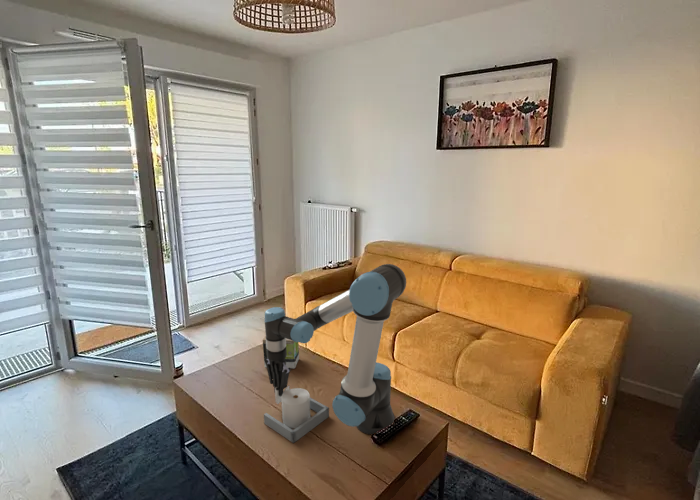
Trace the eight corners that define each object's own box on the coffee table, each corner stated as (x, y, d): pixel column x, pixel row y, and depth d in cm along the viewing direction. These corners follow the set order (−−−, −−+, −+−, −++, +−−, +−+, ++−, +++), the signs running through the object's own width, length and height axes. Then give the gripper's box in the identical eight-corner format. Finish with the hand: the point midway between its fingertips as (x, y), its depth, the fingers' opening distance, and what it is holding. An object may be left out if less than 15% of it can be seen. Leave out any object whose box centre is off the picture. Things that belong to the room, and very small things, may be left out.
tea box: (299, 358, 193) (298, 331, 189) (294, 369, 183) (293, 340, 180) (270, 357, 194) (268, 330, 191) (263, 368, 185) (262, 339, 181)
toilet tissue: (299, 432, 141) (298, 408, 139) (273, 421, 147) (272, 398, 145) (316, 415, 150) (315, 392, 148) (291, 406, 156) (290, 384, 154)
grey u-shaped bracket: (329, 416, 150) (328, 407, 149) (293, 443, 136) (292, 433, 135) (300, 400, 160) (299, 391, 159) (264, 423, 146) (263, 414, 145)
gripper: (295, 349, 147) (297, 403, 152) (273, 338, 155) (276, 391, 160) (279, 356, 141) (282, 413, 147) (257, 345, 149) (261, 399, 155)
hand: (279, 401), depth 154 cm, fingers closed
